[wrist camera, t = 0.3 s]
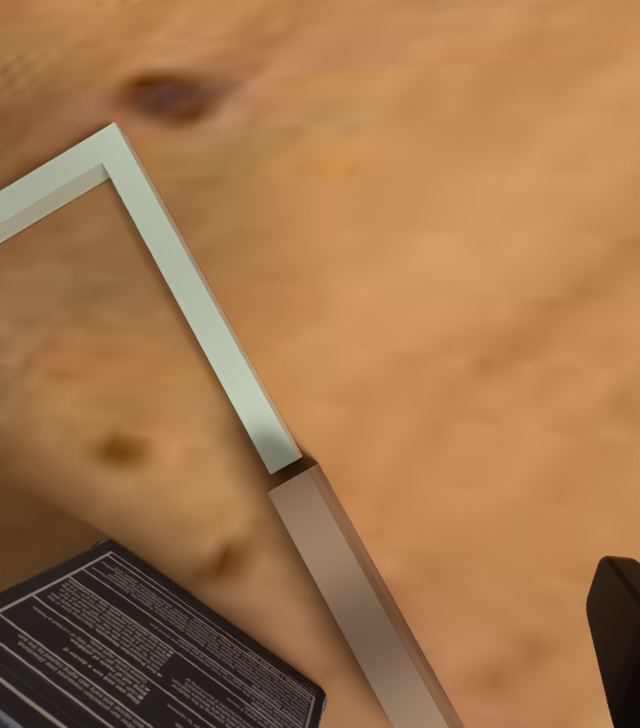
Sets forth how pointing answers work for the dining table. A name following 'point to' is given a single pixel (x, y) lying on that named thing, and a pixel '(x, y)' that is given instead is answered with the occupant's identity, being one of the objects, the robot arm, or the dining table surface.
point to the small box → (135, 655)
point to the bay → (204, 314)
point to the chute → (362, 603)
